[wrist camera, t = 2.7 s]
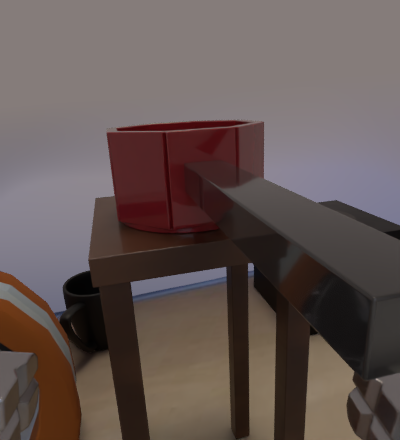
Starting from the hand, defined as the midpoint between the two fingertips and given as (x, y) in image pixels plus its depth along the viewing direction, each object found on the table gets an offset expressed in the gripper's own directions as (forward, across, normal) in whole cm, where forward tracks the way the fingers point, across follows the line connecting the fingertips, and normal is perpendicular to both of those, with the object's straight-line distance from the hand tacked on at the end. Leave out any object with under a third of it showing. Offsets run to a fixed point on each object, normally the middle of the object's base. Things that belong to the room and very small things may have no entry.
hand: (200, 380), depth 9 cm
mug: (+38, +10, +26) cm, 47 cm away
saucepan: (+8, -1, -1) cm, 8 cm away
